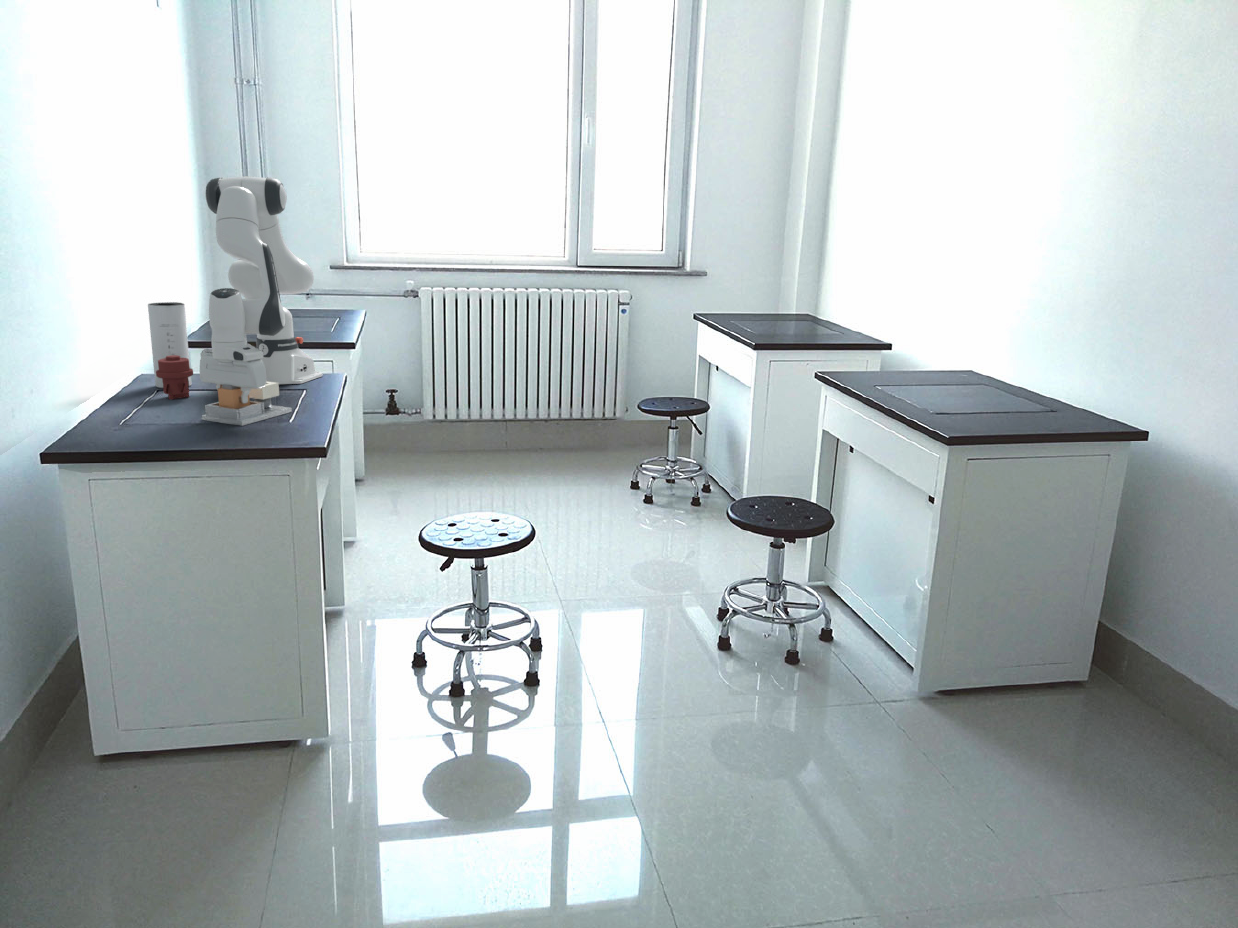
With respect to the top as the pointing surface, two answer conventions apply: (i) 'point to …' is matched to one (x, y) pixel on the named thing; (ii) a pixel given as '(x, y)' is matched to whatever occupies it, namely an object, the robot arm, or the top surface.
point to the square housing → (265, 391)
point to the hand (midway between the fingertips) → (234, 401)
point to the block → (231, 397)
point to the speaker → (167, 333)
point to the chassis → (244, 412)
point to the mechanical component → (175, 376)
